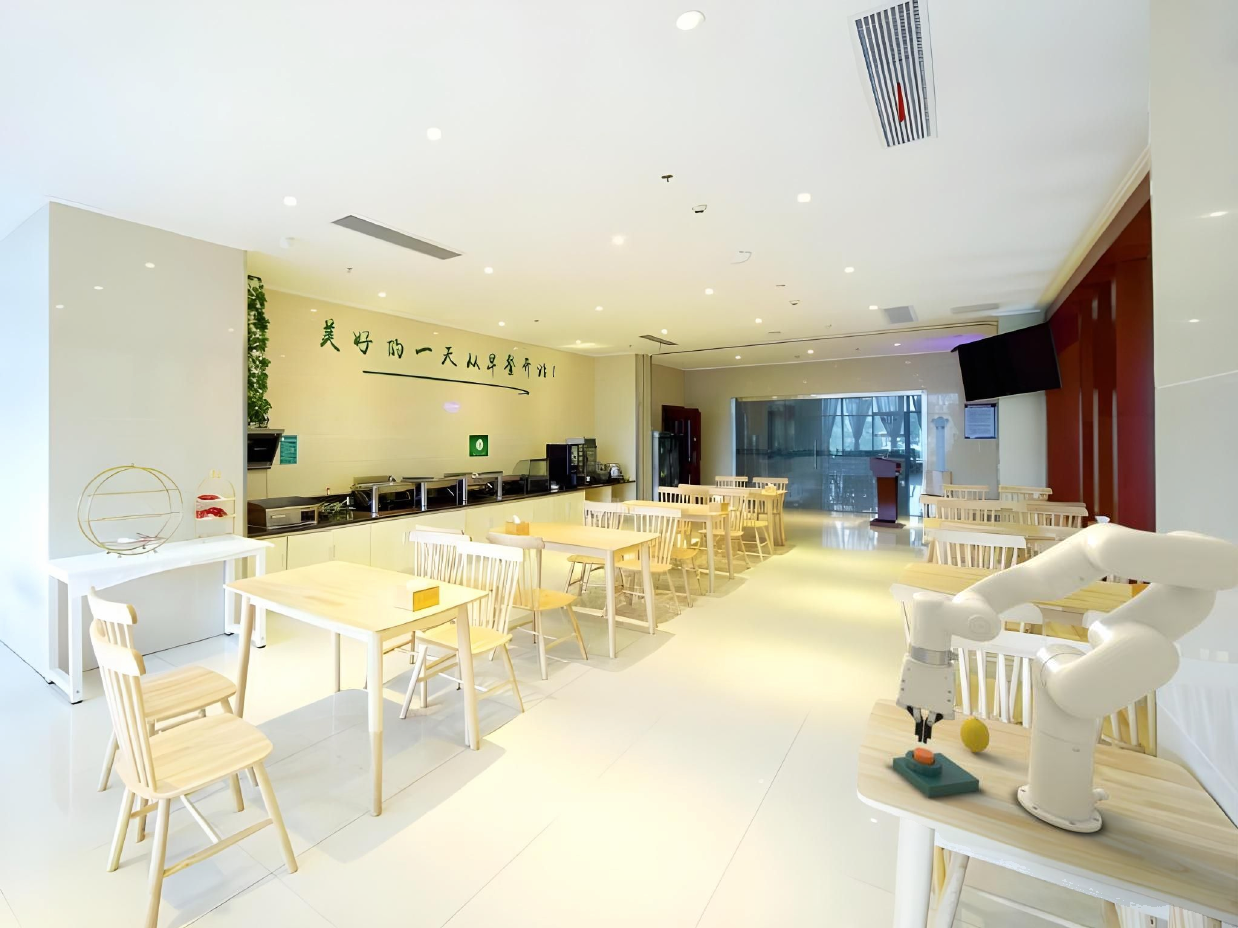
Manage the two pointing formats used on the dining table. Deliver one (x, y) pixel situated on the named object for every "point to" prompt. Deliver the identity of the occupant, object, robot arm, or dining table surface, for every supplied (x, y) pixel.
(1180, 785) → the dining table surface
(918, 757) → the orange button cap
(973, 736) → the lemon
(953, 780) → the button base
